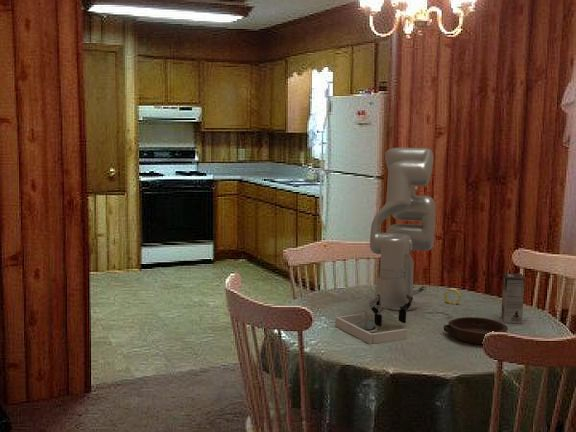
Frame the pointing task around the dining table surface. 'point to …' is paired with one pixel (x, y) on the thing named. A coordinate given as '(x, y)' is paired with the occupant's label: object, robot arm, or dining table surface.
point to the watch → (455, 291)
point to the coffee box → (512, 298)
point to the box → (371, 338)
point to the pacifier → (367, 323)
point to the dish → (473, 328)
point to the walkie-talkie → (417, 290)
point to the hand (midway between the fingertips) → (390, 323)
